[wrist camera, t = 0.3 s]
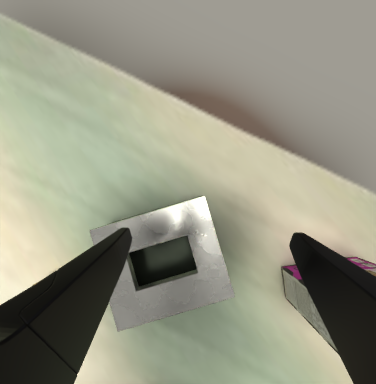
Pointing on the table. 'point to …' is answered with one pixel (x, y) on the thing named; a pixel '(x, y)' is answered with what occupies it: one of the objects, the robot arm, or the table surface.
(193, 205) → the money box
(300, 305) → the candy bar box
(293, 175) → the table surface
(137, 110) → the table surface
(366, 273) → the robot arm
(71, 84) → the table surface
